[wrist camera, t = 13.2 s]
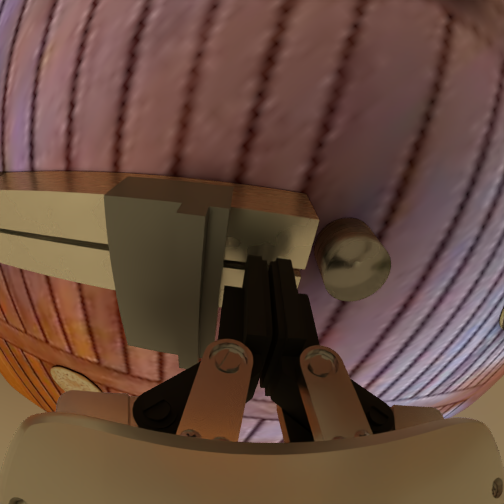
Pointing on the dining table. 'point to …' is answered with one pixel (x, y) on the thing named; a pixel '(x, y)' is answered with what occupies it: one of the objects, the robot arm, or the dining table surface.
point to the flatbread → (72, 380)
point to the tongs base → (325, 250)
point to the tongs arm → (99, 183)
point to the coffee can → (502, 319)
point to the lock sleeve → (168, 261)
